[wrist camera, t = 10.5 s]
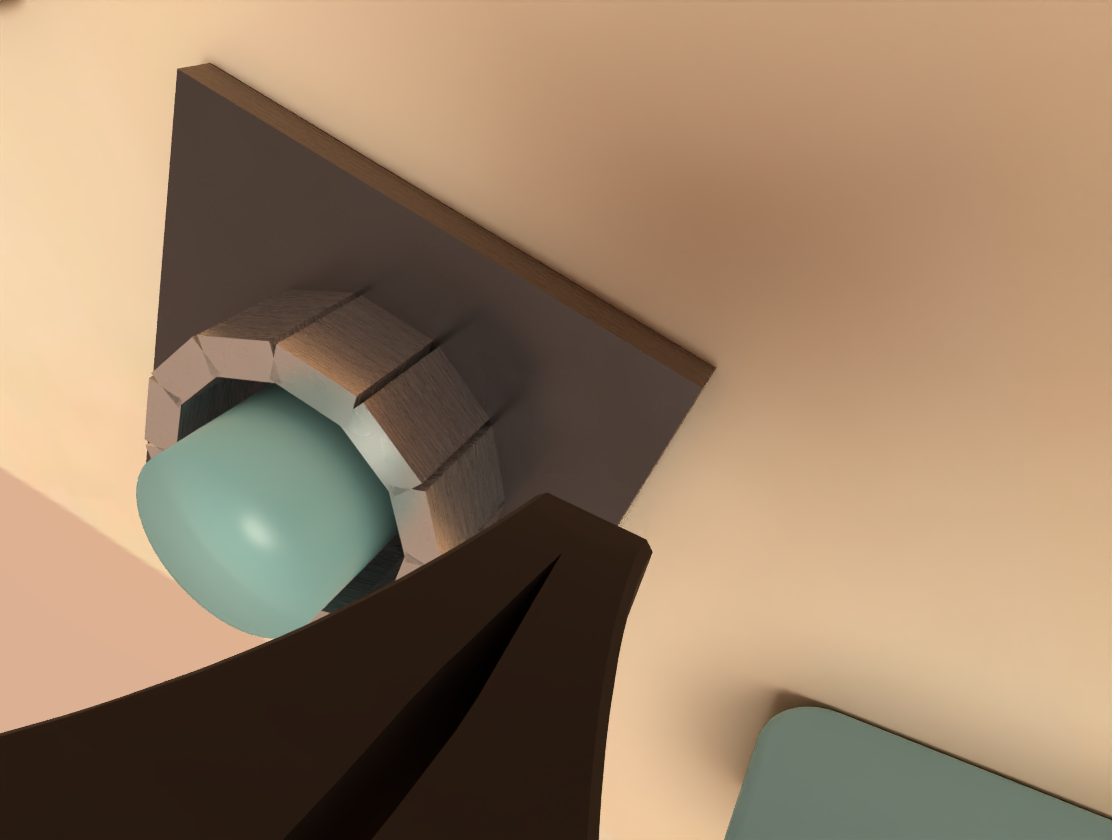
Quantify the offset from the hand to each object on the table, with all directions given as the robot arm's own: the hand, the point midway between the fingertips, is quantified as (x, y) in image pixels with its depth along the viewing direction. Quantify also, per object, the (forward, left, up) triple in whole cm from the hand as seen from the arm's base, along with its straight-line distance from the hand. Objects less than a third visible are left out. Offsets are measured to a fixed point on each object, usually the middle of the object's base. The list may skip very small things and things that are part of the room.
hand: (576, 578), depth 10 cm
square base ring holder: (+9, -7, -9) cm, 15 cm away
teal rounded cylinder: (+9, -7, -8) cm, 14 cm away
